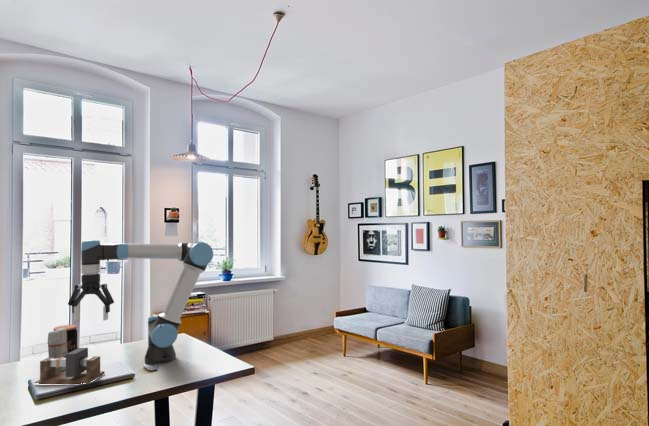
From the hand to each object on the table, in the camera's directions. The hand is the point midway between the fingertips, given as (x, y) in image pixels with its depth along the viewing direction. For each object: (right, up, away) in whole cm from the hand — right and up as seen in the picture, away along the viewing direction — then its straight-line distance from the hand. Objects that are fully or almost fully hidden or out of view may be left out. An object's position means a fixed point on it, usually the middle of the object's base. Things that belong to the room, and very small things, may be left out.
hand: (91, 320), depth 191 cm
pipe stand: (-9, -27, -1) cm, 28 cm away
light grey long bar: (-9, -21, -1) cm, 22 cm away
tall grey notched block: (-6, -24, -1) cm, 24 cm away
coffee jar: (-28, -29, +26) cm, 48 cm away
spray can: (-23, -28, +13) cm, 39 cm away
